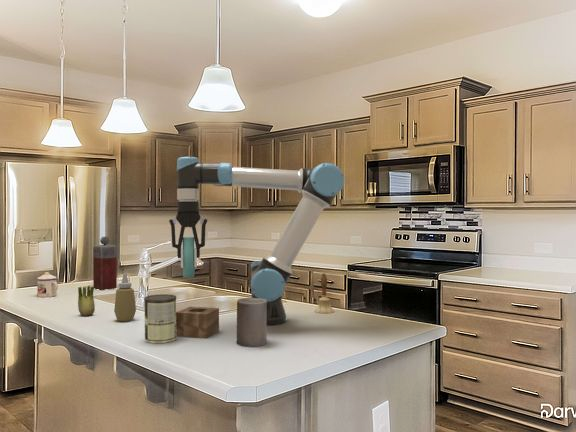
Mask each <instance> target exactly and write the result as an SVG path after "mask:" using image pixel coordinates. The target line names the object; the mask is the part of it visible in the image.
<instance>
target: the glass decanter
mask: <svg viewBox="0 0 576 432" xmlns="http://www.w3.org/2000/svg"><path fill="white" fill-rule="evenodd" d="M99 240H100V244H96V245H93V248H92V252H93V253H92V255H93V260H92V261H93V262H92V264H93V265H92V266H93V267H92V268H93V269H92V270H93V276H92V277H93V281H92V284H93V285H92V286H93V287H94V288H95V289H94V290H97V289H99V290H98V291H106V290H105V289H109V290H115V289H114V288H117V289H118V287H117V285H118V283H117V282H118V281H117V279H118V278H117V277H118V275H117V273H118V272H117V268H118V267H117V263H118V261H117V257H118V256H117V254H118V253H117V252H118V251H117V249H118V248H117V245H115V244H109V243H110V238H109V237H108V236H102V237H101V238H100V239H99Z"/></svg>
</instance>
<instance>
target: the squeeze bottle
mask: <svg viewBox="0 0 576 432" xmlns="http://www.w3.org/2000/svg"><path fill="white" fill-rule="evenodd" d="M114 301H115V302H114V310H113V311H114V315H115V317H116V320H117V322H130V321H134V318H135V314H136V312H137V307H136V298H135V289H134V288H133V287H132V282H130V281H129V278H128V274H127V273H123V274H122V280H121V282H118V288H117V289H115V300H114Z"/></svg>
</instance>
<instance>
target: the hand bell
mask: <svg viewBox="0 0 576 432" xmlns="http://www.w3.org/2000/svg"><path fill="white" fill-rule="evenodd" d="M320 284H321V289H322V290H321V295H322V296H321V297H320V298H318V299H319V300H318V304H317V307H316V308H315V309H314V313H317V314H332V313H334V312H335V310H334V309H333V307H332V305H331V301H330V300H331V299H330V298H329V297H328V296H327V286H328V279H327V274H326V273H322V274H321V278H320Z"/></svg>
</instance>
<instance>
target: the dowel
mask: <svg viewBox="0 0 576 432" xmlns="http://www.w3.org/2000/svg"><path fill="white" fill-rule="evenodd" d="M194 248H195V240H194V236H191V237H189V236H188V237H184V236H183V240H182V249H183V268H182V278H185V279H191V278H195V267H194Z"/></svg>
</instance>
